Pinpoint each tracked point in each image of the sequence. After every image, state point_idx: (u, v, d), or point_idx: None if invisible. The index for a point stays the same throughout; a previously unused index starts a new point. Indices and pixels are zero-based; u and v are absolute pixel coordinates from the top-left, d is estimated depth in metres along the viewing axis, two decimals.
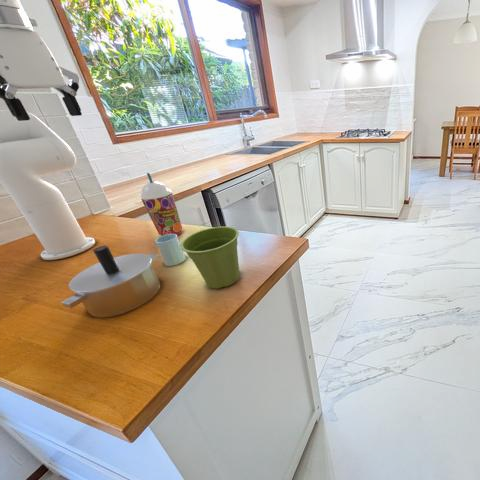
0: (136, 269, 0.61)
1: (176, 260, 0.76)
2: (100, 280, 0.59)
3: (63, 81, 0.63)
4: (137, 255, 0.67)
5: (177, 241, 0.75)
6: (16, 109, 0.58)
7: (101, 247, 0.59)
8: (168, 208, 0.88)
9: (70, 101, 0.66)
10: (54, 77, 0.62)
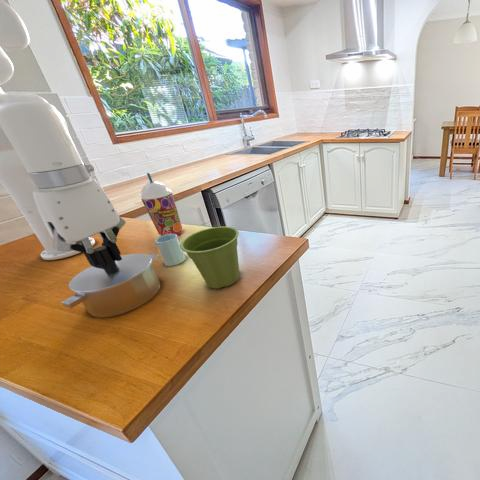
0: (136, 269, 0.61)
1: (176, 260, 0.76)
2: (100, 280, 0.59)
3: (117, 220, 0.60)
4: (137, 255, 0.67)
5: (177, 241, 0.75)
6: (95, 260, 0.58)
7: (101, 247, 0.59)
8: (168, 208, 0.88)
9: (110, 249, 0.60)
10: (110, 220, 0.58)
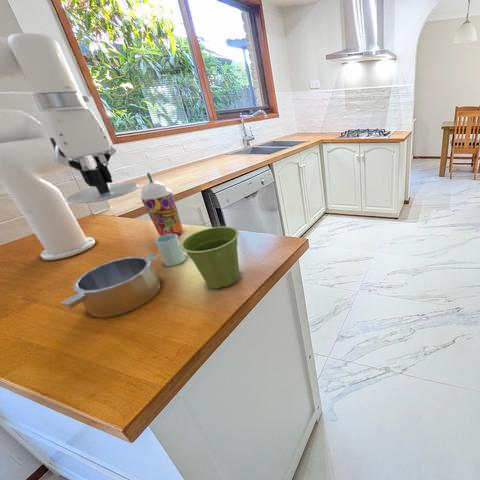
0: (124, 190, 0.72)
1: (176, 260, 0.76)
2: (93, 195, 0.70)
3: (108, 146, 0.71)
4: (126, 183, 0.78)
5: (177, 241, 0.75)
6: (89, 178, 0.69)
7: (95, 169, 0.71)
8: (168, 208, 0.88)
9: (102, 171, 0.71)
10: (102, 145, 0.70)
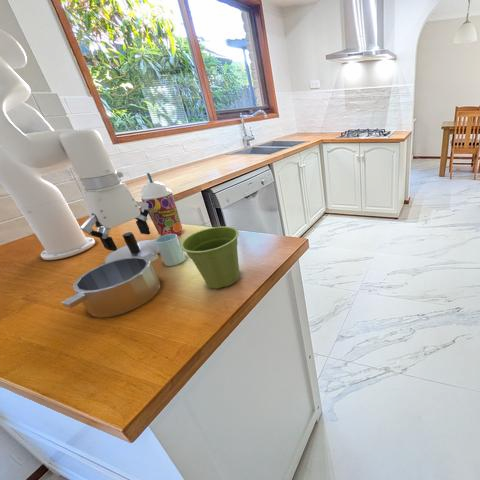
0: (153, 250, 0.82)
1: (176, 260, 0.76)
2: None
3: (139, 213, 0.81)
4: (153, 240, 0.88)
5: (177, 241, 0.75)
6: (108, 244, 0.75)
7: (128, 233, 0.80)
8: (168, 208, 0.88)
9: (142, 225, 0.83)
10: (133, 213, 0.79)
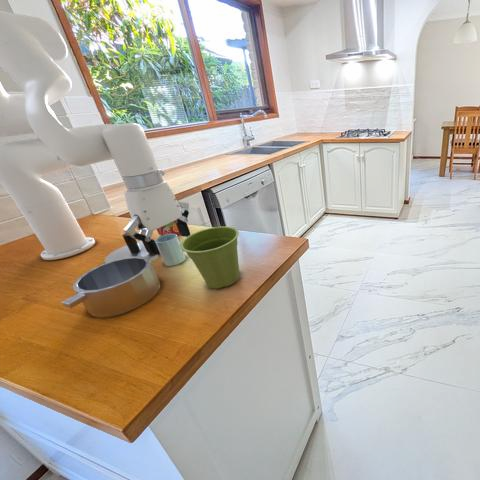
0: None
1: (176, 260, 0.76)
2: None
3: (180, 214, 0.75)
4: None
5: (177, 241, 0.75)
6: (151, 247, 0.70)
7: None
8: None
9: (183, 227, 0.78)
10: (175, 213, 0.74)
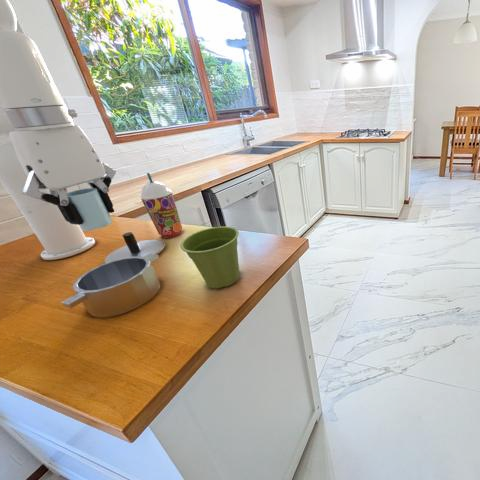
0: (153, 250, 0.82)
1: (96, 223, 0.56)
2: None
3: (103, 172, 0.57)
4: (153, 240, 0.88)
5: (96, 197, 0.56)
6: (70, 215, 0.53)
7: (128, 233, 0.80)
8: (168, 208, 0.88)
9: (102, 199, 0.58)
10: (94, 170, 0.55)
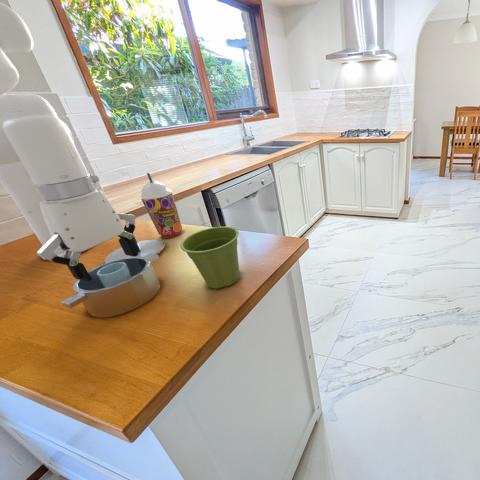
0: (153, 250, 0.82)
1: None
2: None
3: (122, 229, 0.61)
4: (153, 240, 0.88)
5: (126, 272, 0.62)
6: (79, 273, 0.56)
7: None
8: (168, 208, 0.88)
9: (127, 245, 0.63)
10: (114, 229, 0.59)
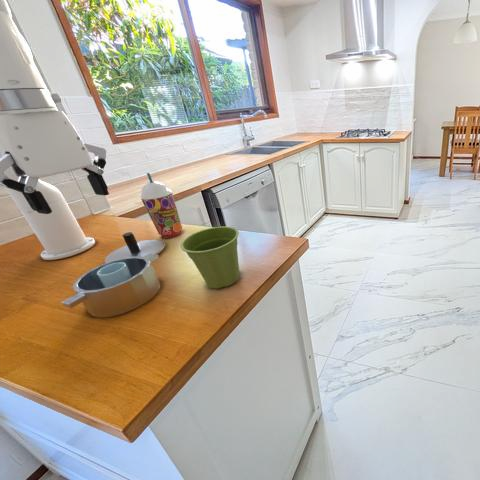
0: (153, 250, 0.82)
1: None
2: None
3: (89, 161, 0.54)
4: (153, 240, 0.88)
5: (126, 272, 0.62)
6: (36, 203, 0.49)
7: (128, 233, 0.80)
8: (168, 208, 0.88)
9: (96, 181, 0.57)
10: (79, 159, 0.53)
